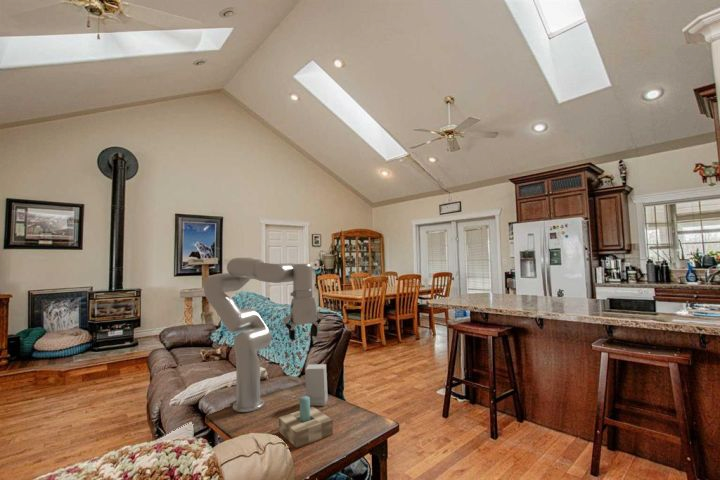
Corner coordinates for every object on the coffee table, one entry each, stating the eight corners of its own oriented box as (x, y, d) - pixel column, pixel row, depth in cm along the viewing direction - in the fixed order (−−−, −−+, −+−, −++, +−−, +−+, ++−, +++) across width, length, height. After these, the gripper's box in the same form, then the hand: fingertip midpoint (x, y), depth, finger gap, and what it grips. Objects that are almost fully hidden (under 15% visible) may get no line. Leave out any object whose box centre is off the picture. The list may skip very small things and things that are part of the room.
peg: (298, 432, 123) (297, 397, 124) (307, 429, 125) (306, 395, 126) (303, 436, 120) (302, 401, 121) (312, 433, 122) (311, 398, 123)
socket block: (278, 431, 124) (278, 417, 124) (313, 420, 132) (313, 406, 133) (296, 448, 113) (296, 432, 113) (332, 434, 121) (332, 419, 122)
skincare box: (328, 400, 151) (327, 363, 152) (325, 406, 145) (324, 368, 145) (309, 399, 152) (308, 363, 153) (305, 406, 145) (304, 368, 146)
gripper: (286, 297, 130) (287, 343, 129) (326, 293, 141) (327, 336, 140) (278, 295, 136) (279, 339, 135) (317, 292, 147) (317, 333, 146)
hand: (303, 337), depth 138 cm, fingers open, 9 cm apart
